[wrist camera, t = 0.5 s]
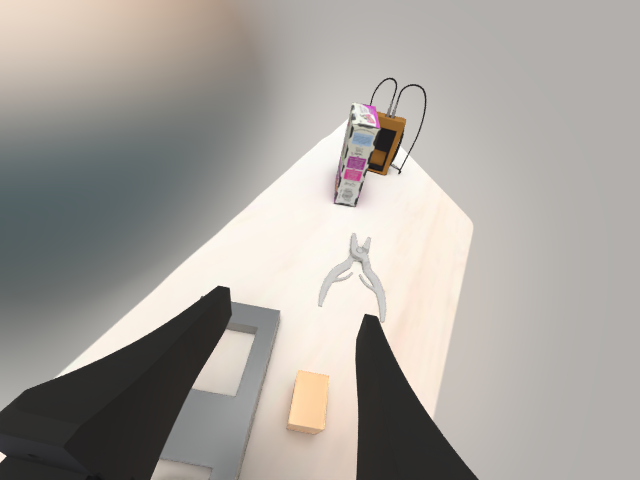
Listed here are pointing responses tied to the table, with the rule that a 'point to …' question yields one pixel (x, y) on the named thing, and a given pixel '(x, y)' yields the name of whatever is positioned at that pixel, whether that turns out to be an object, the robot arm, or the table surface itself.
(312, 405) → the orange plug
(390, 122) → the multimeter
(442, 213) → the table surface
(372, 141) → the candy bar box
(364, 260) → the pliers
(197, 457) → the grey two-slot frame
